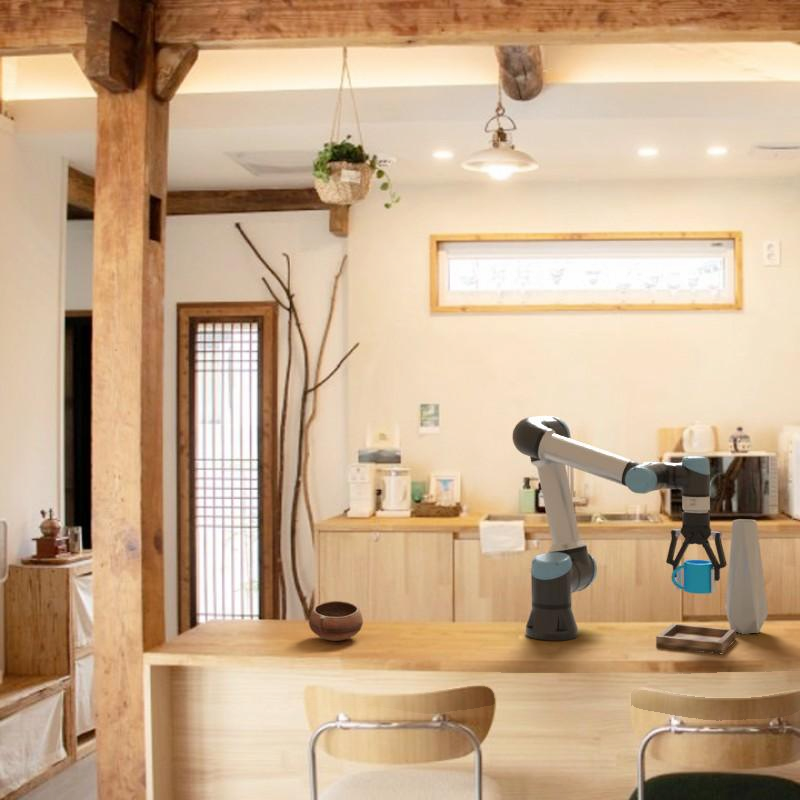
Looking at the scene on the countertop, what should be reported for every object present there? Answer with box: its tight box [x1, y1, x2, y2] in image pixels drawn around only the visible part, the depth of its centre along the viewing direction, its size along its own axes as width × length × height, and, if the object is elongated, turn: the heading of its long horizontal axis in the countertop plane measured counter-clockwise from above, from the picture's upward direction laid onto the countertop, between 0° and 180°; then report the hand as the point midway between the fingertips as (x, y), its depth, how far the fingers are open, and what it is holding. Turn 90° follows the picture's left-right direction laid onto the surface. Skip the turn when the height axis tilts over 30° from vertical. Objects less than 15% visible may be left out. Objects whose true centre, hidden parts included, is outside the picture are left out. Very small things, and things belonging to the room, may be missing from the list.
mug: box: [670, 559, 714, 595], centre depth 301 cm, size 12×8×8 cm
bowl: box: [308, 600, 364, 642], centre depth 309 cm, size 16×16×10 cm
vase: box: [724, 518, 769, 635], centre depth 314 cm, size 12×12×33 cm
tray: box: [655, 622, 737, 654], centre depth 301 cm, size 18×18×3 cm
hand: (696, 590), depth 300 cm, fingers closed on mug, 9 cm apart
